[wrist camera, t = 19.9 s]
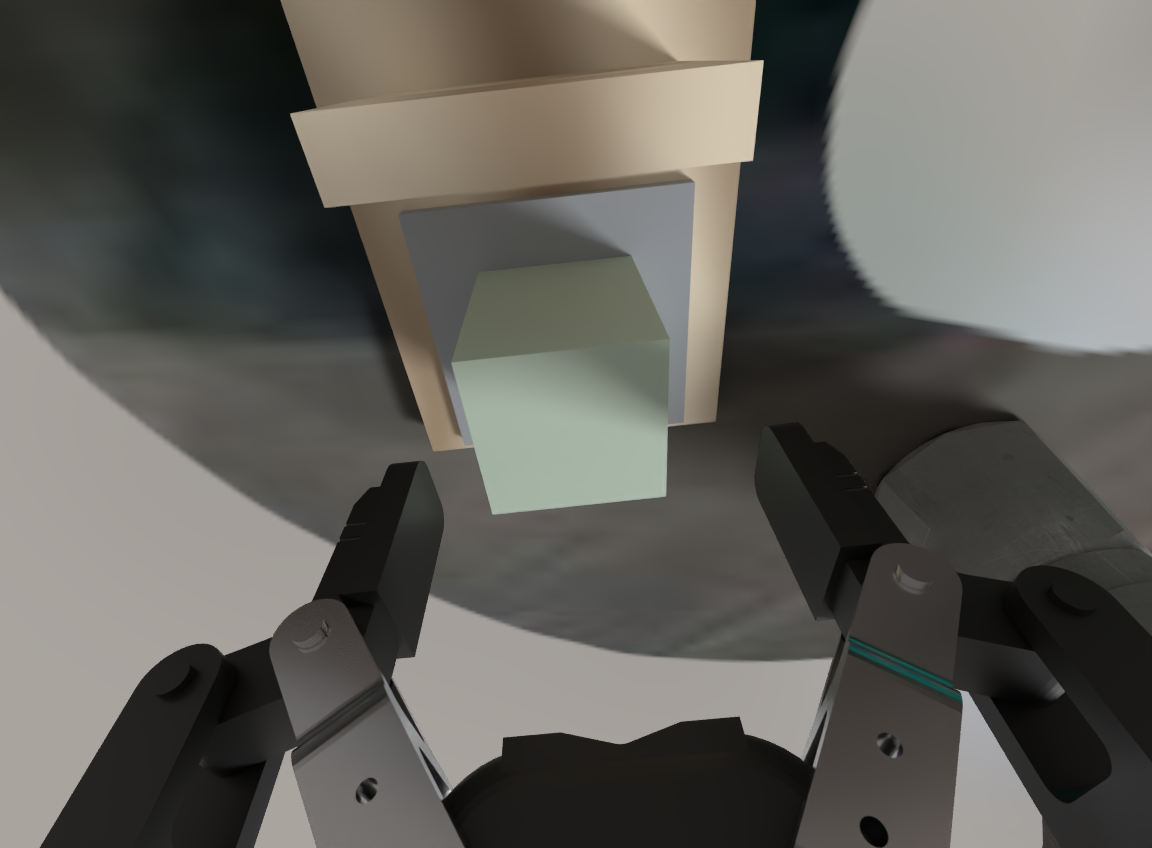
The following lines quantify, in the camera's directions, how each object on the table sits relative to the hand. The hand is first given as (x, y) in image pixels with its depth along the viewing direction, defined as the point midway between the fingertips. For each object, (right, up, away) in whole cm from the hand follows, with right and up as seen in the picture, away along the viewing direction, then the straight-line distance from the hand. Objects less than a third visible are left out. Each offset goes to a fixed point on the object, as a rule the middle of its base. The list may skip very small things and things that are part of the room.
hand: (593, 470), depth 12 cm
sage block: (-1, +4, +6) cm, 7 cm away
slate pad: (-1, +5, +6) cm, 8 cm away
